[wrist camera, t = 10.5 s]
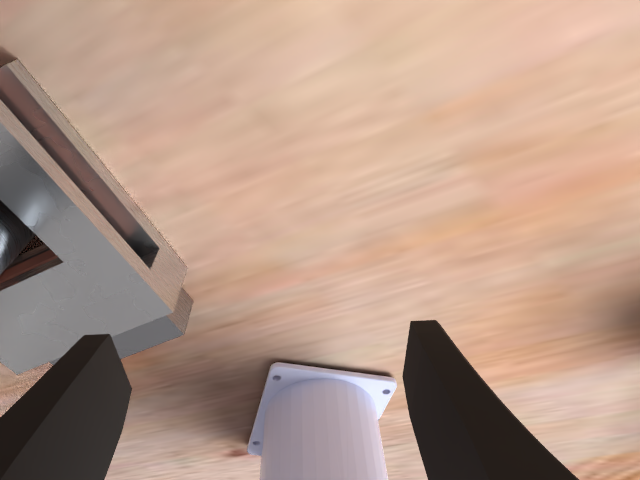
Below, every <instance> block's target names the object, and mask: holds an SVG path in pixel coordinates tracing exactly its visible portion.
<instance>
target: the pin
mask: <svg viewBox="0 0 640 480" xmlns="http://www.w3.org/2000/svg"><path fill="white" fill-rule="evenodd" d="M35 235H36V234H35V233H34V232H33V231H32V230H31V229H30V228H29V227H27V226H26V225H25V224H24V223H23V222H22V221H21V220H20V219H19V218H18V217H17V216H16V215H15V214H14V213H13V212H12V211H11V210H10V209H9V208H8V207H7V206H6V205H5V204H4V203H3V202H2V201H1V200H0V275H1V274H2V273H3V272H4V270H5V269H6V268H7V267H8V266H9V265H10V264H11V262H12V261H13V260H14V259H15V258H16V257H17V256H18V255H19V253H20V252H21V251H22V250H23V249H24V248H25V247H26V245H27V244H28V243H29V242H30V241H31V240H32V239H33V238H34V236H35Z"/></svg>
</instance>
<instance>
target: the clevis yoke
mask: <svg viewBox="0 0 640 480" xmlns="http://www.w3.org/2000/svg"><path fill="white" fill-rule="evenodd" d="M0 200H1V201H2V202H3V203H4V204H5V205H6V206H7V207H8V208H9V209H10V210H11V211H12V212H13V213H14V214H15V215H16V216H17V217H18V218H19V219H20V220H21V221H22V222H23V223H24V224H25V225H26V226H27V227H29V228H30V229H31V230H32V231H33V232H34V233H35V234H36V235H37V236H38V237H39V238H40V239H41V240H42V241H43V242H44V243H45V244H43V245H41V246H39V247H36V248H34V249H32V250H30V251H28V252H26V253H24V254H22V255H18V256H17V257H16V258H15V259H14V260H13V261H12V262H11V264H10V265H9V266H8V267H7V268H6V270H7V269H9V268H11V267H14V266H16V265H18V264H20V263H22V262H24V261H27V260H29V259H31V258H33V257H35V256H37V255H40V254H42V253H44V252H46V251H48V250H50V249H51V250H52V251H53V252H54V253H55V254H56V255H57V256H58V257H57V258H55V259H53V260H51V261H49V262H46V263H44V264H42V265H40V266H38V267H36V268H33V269H31V270H29V271H27V272H25V273H22V274H20V275H18V276H16V277H14V278H11V279H9V280H7V281H5V282H3V283H1V284H0V362H1V363H2V364H3V365H5V366H6V367H8V368H9V369H10V370H12V371H13V372H14V373H16V374H17V375H18V374H20V373H23V372H25V371H28V370H30V369H33V368H35V367H38V366H40V365H43V364H45V363H48V362H50V363H51V364H53V365H54V364H55V363H56V362H57V361H58V360H59V359H60V358H61V357H62V356H63V355H64V354H65V353H66V352H67V351H68V350H69V349H70V348H71V347H72V346H73V345H74V344H75V343H76V342H77V341H78V340H79V339H80V338H81V337H83V336H84V335H94V334H110V335H111V337H112V340H113V343H114V345H115V348H116V350H117V353H118V355H119V358H120V359H122V358H125V357H127V356H130V355H132V354H135V353H137V352H140V351H143V350H145V349H148V348H150V347H153V346H156V345H158V344H161V343H163V342H166V341H169V340H171V339H174V338H176V337H179V336H182V335H184V333H185V329H186V326H187V322H188V319H189V315H190V312H191V308H192V305H193V300H192V299H191V298H190V297H189V295H188V294H187V293H186V292H185V291H184V290H183V288H182V284H183V281H184V278H185V275H186V272H187V269H188V268H187V267H186V265H185V264H184V263H183V262H182V260H181V259H180V258H179V257H178V255H177V254H176V253H175V252H174V251H173V249H172V248H171V247H170V246H169V244H168V243H167V242H166V241H165V240H164V238H163V237H162V236H161V235H160V233H159V232H158V231H157V230H156V228H155V227H154V226H153V225H152V224H151V222H150V221H149V220H148V219H147V217H146V216H145V215H144V214H143V213H142V211H141V210H140V209H139V208H138V206H137V205H136V204H135V203H134V201H133V200H132V199H131V198H130V197H129V195H128V194H127V193H126V192H125V190H124V189H123V188H122V187H121V186H120V184H119V183H118V182H117V181H116V179H115V178H114V177H113V176H112V174H111V173H110V172H109V171H108V170H107V168H106V167H105V166H104V165H103V163H102V162H101V161H100V160H99V159H98V157H97V156H96V155H95V154H94V152H93V151H92V150H91V149H90V147H89V146H88V145H87V144H86V143H85V141H84V140H83V139H82V138H81V136H80V135H79V134H78V133H77V131H76V130H75V129H74V128H73V127H72V125H71V124H70V123H69V122H68V120H67V119H66V118H65V117H64V116H63V114H62V113H61V112H60V111H59V109H58V108H57V107H56V106H55V104H54V103H53V102H52V101H51V100H50V98H49V97H48V96H47V95H46V93H45V92H44V91H43V90H42V89H41V87H40V86H39V85H38V84H37V82H36V81H35V80H34V79H33V77H32V76H31V75H30V74H29V73H28V71H27V70H26V69H25V68H24V66H23V65H22V64H21V63H20V62H19V60H18V59H17V60H15V61H13V62H10V63H8V64H6V65H4V66H2V67H1V68H0Z"/></svg>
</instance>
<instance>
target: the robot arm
mask: <svg viewBox="0 0 640 480" xmlns="http://www.w3.org/2000/svg"><path fill="white" fill-rule="evenodd" d="M276 375H278V376H276ZM403 381H404V387H405V393H406V399H407V404H408V410H409V415H410V419H411V423H412V426H413V430H414V433H415V436H416V440H417V443H418V447H419V450H420V454H421V457H422V460H423V464H424V467H425V470H426V474H427V477H428V480H579V479H578V478H577V477H576V476H574V475H573V474H572V473H571V472H570V471H569V470H568V469H567V468H566V467H565V466H564V465H563V464H562V463H561V462H560V461H558V460H557V459H556V458H555V457H554V456H553V455H552V454H551V453H550V452H549V451H548V450H547V449H546V448H545V447H544V446H543V445H542V444H541V443H540V442H539V441H538V440H537V439H536V438H535V437H534V436H533V435H532V434H531V433H530V432H529V431H528V430H527V429H526V427H525V426H524V425H523V424H522V423H521V422H520V421H519V420H518V419H517V418H516V417H515V416H514V415H513V414H512V413H511V411H510V410H509V409H508V408H507V407H506V406H505V405H504V404H503V403H502V401H501V400H500V399H499V398H498V397H497V396H496V394H495V393H494V392H493V391H492V390H491V389H490V387H489V386H488V385H487V384H486V383H485V382H484V380H483V379H482V378H481V377H480V376H479V374H478V373H477V372H476V371H475V370H474V368H473V367H472V366H471V365H470V363H469V362H468V361H467V359H466V358H465V357H464V356H463V354H462V353H461V352H460V351H459V349H458V348H457V347H456V345H455V344H454V343H453V341H452V340H451V339H450V337H449V336H448V335H447V333H446V332H445V331H444V329H443V328H442V327H441V325H440V324H439V323H438V322H437V321H436V320H427V321H411V323H410V329H409V336H408V343H407V350H406V357H405V364H404V371H403ZM396 387H397V383H396V380H395V379H394V378H392V377H387V376H379V375H371V374H364V373H356V372H349V371H341V370H333V369H326V368H318V367H311V366H303V365H296V364H288V363H280V362H277V363H274V364H272V365H271V367H270V369H269V373H268V376H267V380H266V383H265V387H264V390H263V394H262V397H261V401H260V404H259V408H258V411H257V415H256V418H255V422H254V425H253V429H252V432H251V436H250V439H249V443H248V447H247V452H248V453H249V454H251V455H260V456H261V466H260V480H388V475H387V470H386V464H385V458H384V452H383V447H382V441H381V435H380V429H379V423H378V420H379V418H380V417H381V415H382V413H383V411H384V409H385V407H386V405H387V404H388V402H389V400H390V398H391V396H392V394H393V393H394V391H395V389H396ZM131 391H132V388H131V385H130V383H129V380H128V378H127V375H126V373H125V370H124V368H123V365H122V363H121V360H120V358H119V355H118V353H117V350H116V348H115V345H114V343H113V340H112V337H111V335H110V334H94V335H84V336H83V337H81V338H80V339H79V340H78V341H77V342H76V343H75V344H74V345H73V346H72V347H71V348H70V349H69V350H68V351H67V352H66V353H65V354H64V355H63V356H62V357H61V358H60V359H59V360H58V361H57V362H56V363H55V364H54V365H53V366H52V367H51V368H50V369H49V370H48V371H47V372H46V373H45V374H44V375H43V376H42V377H41V378H40V379H39V380H38V381H37V382H36V383H35V384H34V385H33V386H32V387H31V388H30V389H29V390H28V391H27V392H26V393H25V394H24V395H23V396H22V397H21V398H20V399H19V400H18V401H17V402H16V403H15V404H14V405H13V406H12V407H11V408H10V409H9V410H8V411H7V412H6V413H5V414H4V415H3V416H2V417H0V480H104V479H105V476H106V474H107V471H108V468H109V466H110V463H111V460H112V457H113V455H114V452H115V449H116V446H117V444H118V441H119V438H120V435H121V432H122V429H123V425H124V421H125V417H126V413H127V409H128V404H129V400H130V395H131Z"/></svg>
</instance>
